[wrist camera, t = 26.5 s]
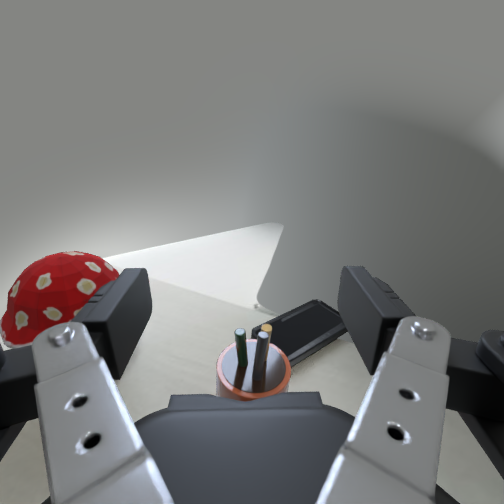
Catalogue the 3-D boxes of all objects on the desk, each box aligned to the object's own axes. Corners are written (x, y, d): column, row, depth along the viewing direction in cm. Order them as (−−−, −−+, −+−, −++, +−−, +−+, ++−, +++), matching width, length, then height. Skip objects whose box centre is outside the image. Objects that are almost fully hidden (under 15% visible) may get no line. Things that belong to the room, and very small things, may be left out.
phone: (354, 322, 46) (284, 365, 37) (353, 328, 46) (284, 371, 38) (316, 297, 51) (248, 329, 43) (315, 302, 52) (247, 335, 43)
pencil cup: (218, 500, 25) (221, 362, 18) (212, 433, 30) (213, 305, 23) (282, 486, 27) (309, 352, 19) (267, 424, 32) (283, 300, 24)
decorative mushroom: (156, 379, 36) (143, 273, 29) (14, 433, 29) (-44, 312, 23) (133, 314, 46) (120, 225, 40) (24, 343, 40) (-13, 242, 33)
